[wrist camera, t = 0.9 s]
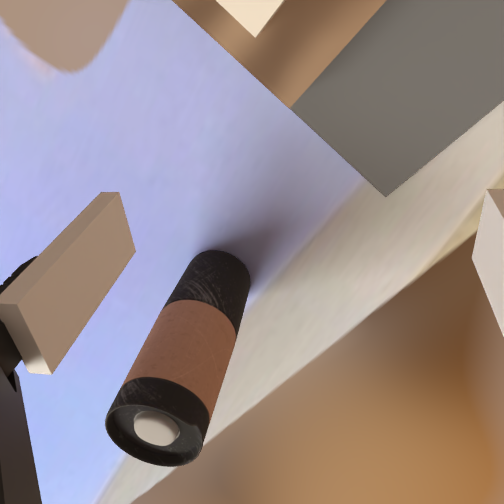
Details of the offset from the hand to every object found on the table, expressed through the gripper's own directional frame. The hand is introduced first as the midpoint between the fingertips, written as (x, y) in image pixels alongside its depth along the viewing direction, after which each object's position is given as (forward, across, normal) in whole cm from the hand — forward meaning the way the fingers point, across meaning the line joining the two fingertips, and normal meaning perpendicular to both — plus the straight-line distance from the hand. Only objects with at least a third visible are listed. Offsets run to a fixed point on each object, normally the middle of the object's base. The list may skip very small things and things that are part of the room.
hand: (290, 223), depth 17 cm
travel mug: (+24, -11, -21) cm, 34 cm away
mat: (+24, +7, -1) cm, 25 cm away
